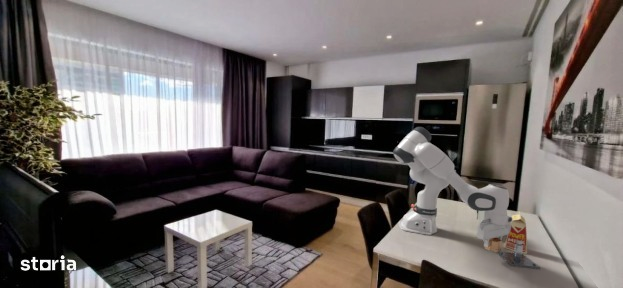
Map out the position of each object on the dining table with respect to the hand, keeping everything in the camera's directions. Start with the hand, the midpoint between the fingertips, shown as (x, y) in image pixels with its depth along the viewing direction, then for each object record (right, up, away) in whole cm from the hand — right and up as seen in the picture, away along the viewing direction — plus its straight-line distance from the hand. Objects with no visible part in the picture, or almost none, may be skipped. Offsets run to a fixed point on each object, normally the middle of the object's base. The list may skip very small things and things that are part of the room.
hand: (492, 245), depth 121 cm
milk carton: (+22, -8, +13) cm, 27 cm away
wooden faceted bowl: (0, -2, 0) cm, 2 cm away
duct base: (+13, -8, +1) cm, 15 cm away
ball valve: (+19, -6, +29) cm, 36 cm away
